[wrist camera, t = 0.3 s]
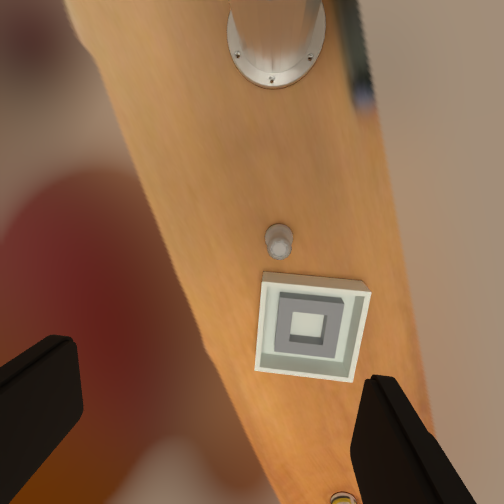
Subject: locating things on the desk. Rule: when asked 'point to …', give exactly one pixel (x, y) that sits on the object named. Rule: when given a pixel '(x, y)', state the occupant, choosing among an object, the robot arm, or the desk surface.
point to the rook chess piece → (279, 241)
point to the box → (310, 325)
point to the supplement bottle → (343, 499)
